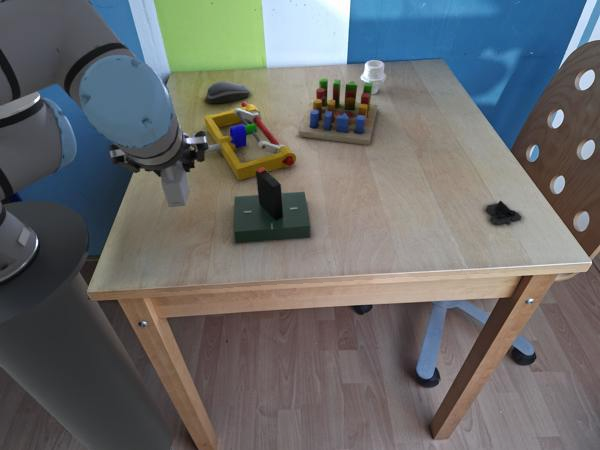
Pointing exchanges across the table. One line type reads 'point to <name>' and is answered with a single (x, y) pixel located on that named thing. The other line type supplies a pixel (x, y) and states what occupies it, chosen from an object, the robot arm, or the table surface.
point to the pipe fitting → (374, 74)
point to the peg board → (340, 115)
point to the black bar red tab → (269, 193)
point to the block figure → (502, 214)
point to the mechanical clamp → (239, 139)
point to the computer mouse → (226, 92)
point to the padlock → (175, 185)
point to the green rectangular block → (270, 219)
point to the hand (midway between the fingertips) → (173, 166)
